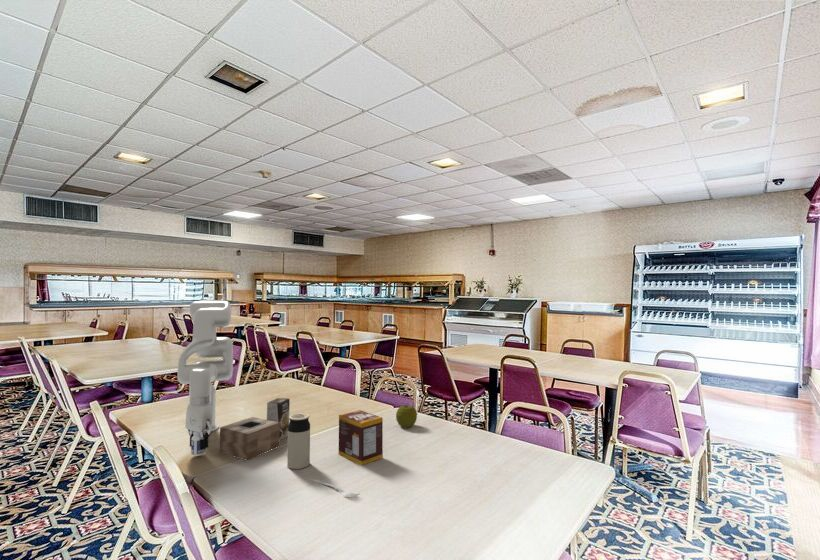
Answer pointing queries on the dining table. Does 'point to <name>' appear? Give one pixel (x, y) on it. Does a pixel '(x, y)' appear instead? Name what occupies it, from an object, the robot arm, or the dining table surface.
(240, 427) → the brown box with opening
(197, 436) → the pill bottle
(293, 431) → the travel mug
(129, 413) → the dining table surface
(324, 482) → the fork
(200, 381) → the robot arm
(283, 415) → the coffee box
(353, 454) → the supplement box
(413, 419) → the apple
